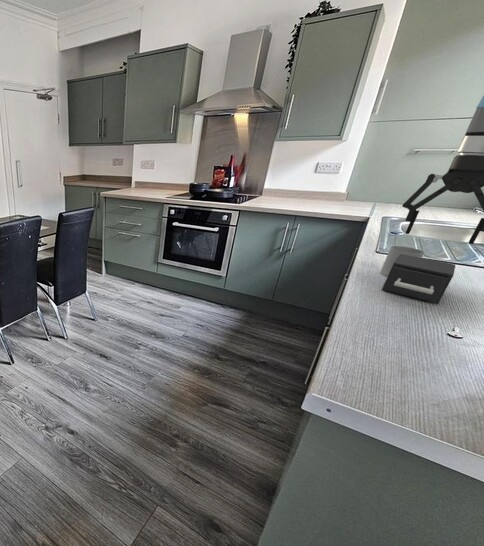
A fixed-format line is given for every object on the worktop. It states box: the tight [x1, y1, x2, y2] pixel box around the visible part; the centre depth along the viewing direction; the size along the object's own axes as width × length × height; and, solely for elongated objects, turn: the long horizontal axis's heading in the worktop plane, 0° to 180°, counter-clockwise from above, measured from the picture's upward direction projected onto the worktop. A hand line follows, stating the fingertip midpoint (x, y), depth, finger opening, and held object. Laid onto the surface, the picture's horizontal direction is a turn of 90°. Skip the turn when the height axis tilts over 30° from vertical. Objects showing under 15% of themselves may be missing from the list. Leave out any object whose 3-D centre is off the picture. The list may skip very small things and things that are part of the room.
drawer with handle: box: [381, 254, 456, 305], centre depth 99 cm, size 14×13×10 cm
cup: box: [379, 245, 425, 278], centre depth 111 cm, size 8×8×10 cm
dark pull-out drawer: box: [385, 266, 449, 302], centre depth 96 cm, size 18×11×8 cm, turn 130°
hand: (437, 237), depth 87 cm, fingers open, 11 cm apart
